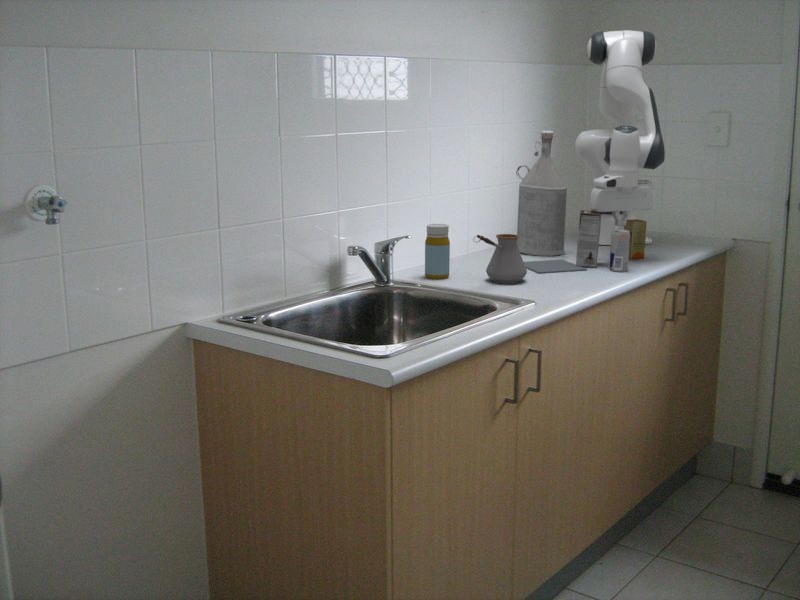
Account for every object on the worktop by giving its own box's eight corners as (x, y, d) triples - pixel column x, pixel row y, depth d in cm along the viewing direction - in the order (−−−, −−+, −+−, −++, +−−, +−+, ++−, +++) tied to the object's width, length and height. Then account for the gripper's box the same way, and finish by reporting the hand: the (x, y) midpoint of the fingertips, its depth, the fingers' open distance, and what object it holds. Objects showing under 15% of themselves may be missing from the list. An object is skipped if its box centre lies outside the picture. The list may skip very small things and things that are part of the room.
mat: (562, 260, 279) (562, 259, 279) (587, 270, 264) (587, 269, 264) (515, 263, 275) (515, 262, 275) (538, 273, 260) (538, 272, 260)
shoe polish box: (630, 259, 281) (632, 222, 278) (621, 256, 286) (624, 219, 283) (643, 258, 283) (646, 221, 280) (635, 256, 287) (637, 219, 284)
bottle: (420, 275, 257) (421, 224, 253) (442, 273, 259) (443, 223, 256) (431, 280, 251) (431, 227, 247) (453, 278, 253) (454, 226, 250)
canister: (522, 247, 303) (526, 129, 293) (570, 252, 294) (576, 130, 284) (506, 252, 292) (510, 130, 283) (555, 258, 283) (561, 132, 274)
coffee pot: (500, 274, 258) (501, 223, 255) (534, 280, 251) (536, 227, 248) (457, 287, 242) (458, 233, 239) (492, 293, 235) (494, 237, 232)
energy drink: (615, 267, 268) (617, 228, 266) (631, 270, 265) (633, 230, 262) (605, 270, 265) (608, 230, 262) (621, 272, 261) (623, 232, 258)
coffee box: (575, 260, 278) (580, 209, 274) (596, 262, 277) (601, 211, 273) (575, 265, 269) (580, 213, 266) (596, 267, 268) (602, 214, 264)
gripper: (647, 178, 276) (644, 222, 279) (588, 180, 270) (586, 225, 273) (658, 180, 270) (655, 225, 273) (598, 182, 264) (596, 228, 267)
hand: (620, 225), depth 273 cm, fingers closed
